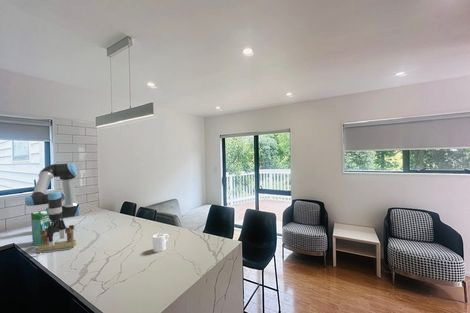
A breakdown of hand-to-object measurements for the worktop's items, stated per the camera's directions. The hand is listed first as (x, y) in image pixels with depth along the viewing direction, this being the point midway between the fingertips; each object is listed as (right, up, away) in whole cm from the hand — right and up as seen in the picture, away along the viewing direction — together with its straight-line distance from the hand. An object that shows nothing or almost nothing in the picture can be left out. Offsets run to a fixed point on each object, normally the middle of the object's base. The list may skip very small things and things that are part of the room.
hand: (57, 242), depth 156 cm
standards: (-6, -5, +8) cm, 12 cm away
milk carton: (-23, -6, +14) cm, 28 cm away
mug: (+80, -2, -7) cm, 80 cm away
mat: (0, -5, 0) cm, 5 cm away
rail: (0, -5, 0) cm, 5 cm away
